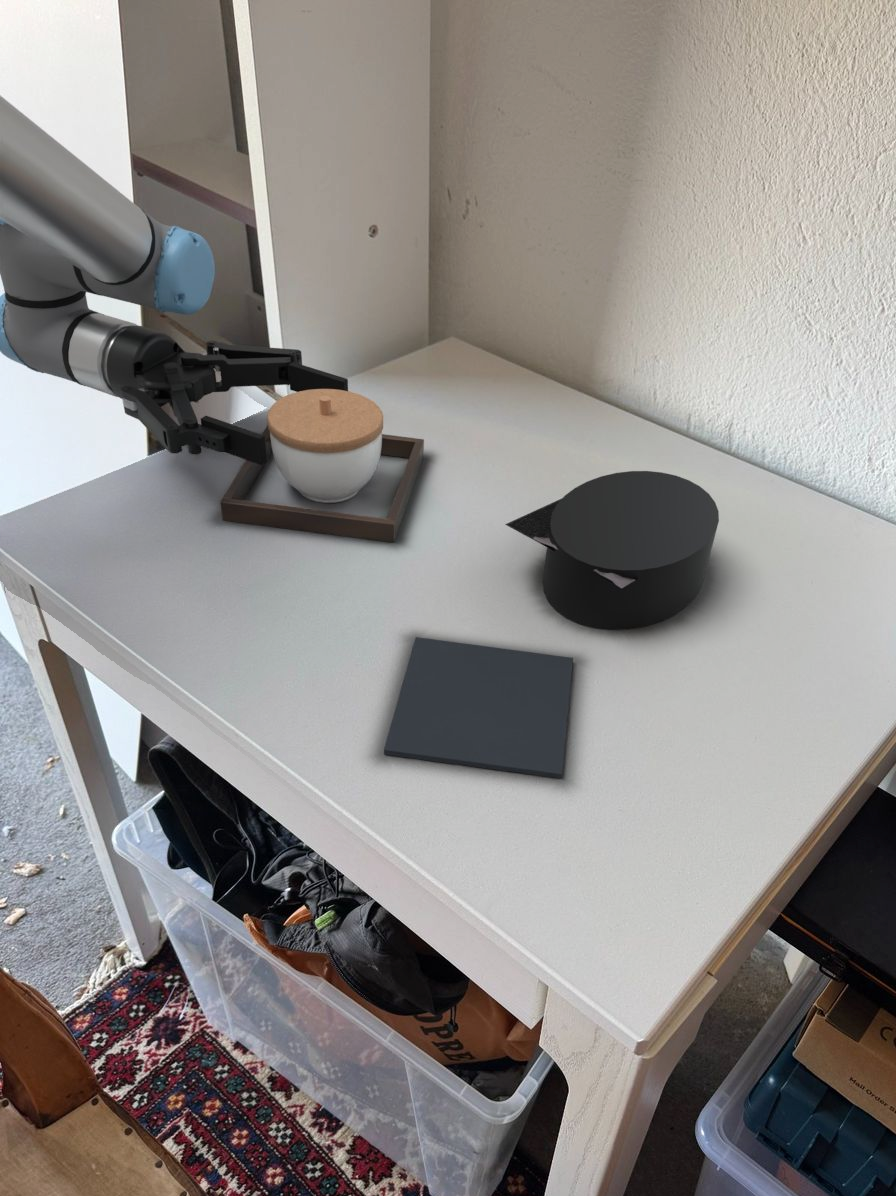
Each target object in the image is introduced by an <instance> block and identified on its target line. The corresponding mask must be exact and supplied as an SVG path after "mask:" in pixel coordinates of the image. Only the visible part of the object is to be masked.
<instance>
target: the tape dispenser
mask: <svg viewBox="0 0 896 1196" xmlns="http://www.w3.org/2000/svg"><path fill="white" fill-rule="evenodd" d="M719 514H720V513H719V508H718V506H717V504H716V501H715V499H714V498H713V497H712V496H711V494H710V493H709V492H708V491H707V490H705V489H704V488H703V487H701V486H700V485H698V484H697V483H695V482H693V481H691V480H689V479H687V478H684V477H681V476H678V475H676V474H670V473H667V472H661V471H653V470H652V471H651V470H628V471H621V472H620V471H619V472H615V473H610V474H605V475H601V476H599V477H595V478H593V479H590V480H588V481H585V482H583V483H581V484H579V485H578V486H576V487H574V488H573V489H571V490H570V491H569V492H567V493H566V494H565V495H563V496H562V497H561V498H560V499H557V500H555V501H553V502H551V503H549V504H546V505H544V506H541V507H540V508H537V509H536V510H533V511H531V512H529V513H527V514H524V515H523V516H520V517H518V518H516V519H513V520H512V521H509V522H507V523H504V525H505V526H507V527H509V528H510V529H512V530H515V531H516V532H518V533H520V534H522V535H523V536H525V537H527V538H529V539H531V540H533V541H534V542H535V543H538V544H540V545H542V546H544V547H545V548H546V553H545V561H544V567H543V575H542V591H543V594H544V596H545V598H546V600H547V603H549V606H551V607H552V608H553V609H554V610H555V612H557V613H559V614H560V615H561V616H563V617H564V618H565V619H567V620H569V621H572V622H574V623H576V624H579V625H581V626H585V627H589V628H593V629H599V630H600V629H601V630H609V631H616V630H617V631H618V630H619V631H620V630H632V629H638V628H644V627H648V626H652V625H655V624H658V623H661V622H663V621H665V620H668V619H669V618H671V617H674V616H676V615H677V614H679V613H680V612H681V611H683V610H684V609H685V608H687V607H688V606H689V605H690V604H691V603H692V602H693V601H694V600H695V599H696V598H697V596H698V595H699V592H700V591H701V590H702V586H703V583H704V580H705V576H706V572H707V568H708V566H709V565H708V564H709V560H710V556H711V554H712V553H711V552H712V549H713V545H714V541H715V539H716V538H715V537H716V533H717V529H718V527H719V522H720V515H719Z"/></svg>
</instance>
